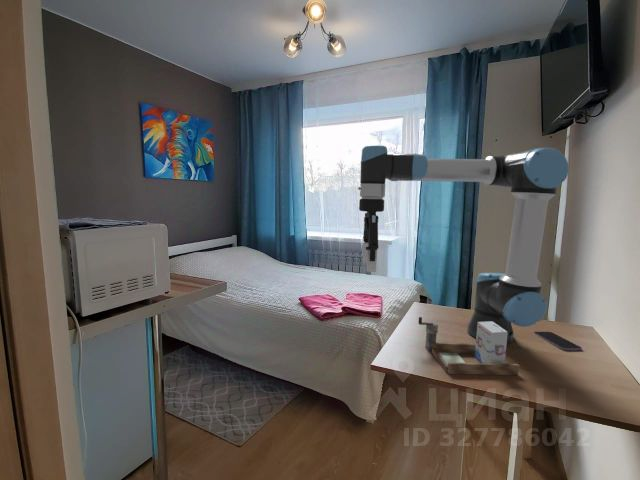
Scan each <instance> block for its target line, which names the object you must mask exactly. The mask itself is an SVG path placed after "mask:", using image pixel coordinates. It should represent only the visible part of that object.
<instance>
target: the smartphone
mask: <svg viewBox="0 0 640 480" xmlns="http://www.w3.org/2000/svg"><path fill="white" fill-rule="evenodd" d="M534 333H535V334H534ZM533 334H534V335H536V336H537V335H538V336H537V337H539V338H541V339H543V340H545V341H546V342H547V343H549V344H550V345H553V346H554V347H556V348H558V349H559V350H563V351H582V350H583V348H582V347H581V346H580V345H577V344H575V343H574V342H572V341H570V340H567V339H566V338H564V337H562V336H560V335H558V334H555V333H554V332H552V331H533Z"/></svg>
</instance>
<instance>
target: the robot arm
mask: <svg viewBox="0 0 640 480" xmlns="http://www.w3.org/2000/svg"><path fill="white" fill-rule="evenodd" d="M360 158H361V160H360V179H359V180H360V185H359V186H357V189H358V191H360V192H359V196H360V198H359V200H358V201H359V202H358V203H359V205H358V209H359V211H360V212H364V217H363V223H364V224H363V237H362V241H363V245H362V263H366V272H367V273H377V264H378V263H377V261H378V250H379V215H377V213H382V212H384V211H385V200H384V199H383V198H385V197H386V180H389V181H391V182H399V181H401V182H402V181H403V182H410V181H411V182H413V181H414V182H416V181H417V182H459V183H460V182H461V183H463V182H466V183H467V182H468V183H470V182H471V183H473V182H474V183H483V184H484V186H498V187H504V188H510V190H511V191H510V194H511V195H512V196H513V197H514V198H515V201H514V210H513V217H512V223H511V232H510V237H509V246H508V250H507V251H508V254H507V258H506V259H507V261H506V267H505V273H500V272H481V273H478V275H477V280H476V283H475V284H476V287H475V288H476V289H475V296H474V297H475V299H474V308H473V309H474V310H473V313H472V315H471V317H470V319H469V322H467V323H468V324H467V328H466V332H467V333H468V334H469V336H471V337H473V338H474V339H476V336H477V324H478V322H487V321H492V322H494V323H496V324H497V325H499V326H500V327H501V328H503V329H504V330H506V331H507V332H508V335H507V344H509V343H510V344H511V343H512V342H513V341H514V335H515V334H514V329H513V326H512V324H513V325H516V326H519V327H530V326H533V325H536V324H537V323H538V322H540V321H542V320H543V318H544V317H545V316H546V313H547V311H548V310H547V309H548V304H547V301H546V300H545V298H544V296H543V295H541V292H542V291H541V290H542V282H540V280H539V279H538V272H539V265H540V258H541V252H542V245H543V238H544V232H545V224H546V220H547V219H546V218H547V211H548V206H549V201H550V200H552V198H554V197H555V196H556V193H557V187H558V186H560V185H562V183H563V182H565V181H566V180H567V177H568V175H569V171H570V169H569V168H570V167H569V163H568V159H567V158H566V156H565V155H563V153H562V152H561V151H559V150H558V149H556V148H553V147H535V148H534V149H528V150H523V151H518V152H514V153H509V154H504V155H499V156H497V155H495V156H490V155H489V156H487V157H485V159H483V158H482V159H480V158H427V155H425V154H419V153H390V152H388V147H387V146H385V145H377V144H372V145H366V146H364V147H363V148H362V150H361V157H360Z"/></svg>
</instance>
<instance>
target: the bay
mask: <svg viewBox="0 0 640 480" xmlns="http://www.w3.org/2000/svg"><path fill="white" fill-rule="evenodd" d="M417 322H418V324H419V325H421V326H425V332H426V336H425V348H426V350H427V351H431V353H432V355H433V356H434V357H435V359H436V361H437V362H438V363H439V365H440V366H441V368H442V369H443V371H444V372H445V373H447V374H448V375H450V374H451V375H488V376H490V375H494V376H519V369H520V364H518V363H505V364H498V363H481V362H465V360H464V359H463V358H462V357H461V356H460V355H459V354H474V355H475V348H476V343H466V342H465V343H463V342H437V334H438V333H439V331H438V330H439V325H438V324H437V323H435V322H433V321H432V322H431V321H423V317H421V316H418V321H417Z"/></svg>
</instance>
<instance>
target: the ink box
mask: <svg viewBox="0 0 640 480" xmlns="http://www.w3.org/2000/svg"><path fill="white" fill-rule="evenodd" d="M507 335H508V332H507V331H506V330H504V329H503V328H501V327H500V326H499V325H497V324H496V323H494V322H492V321H487V322H478V324H477V336H476V338H475V344H476V348H475V354H474V357H475V358H476V359H477V360H478V361H479V363H498V364H506V355H507V354H506V353H507V346H508V345H507V344H508V343H507Z"/></svg>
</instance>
